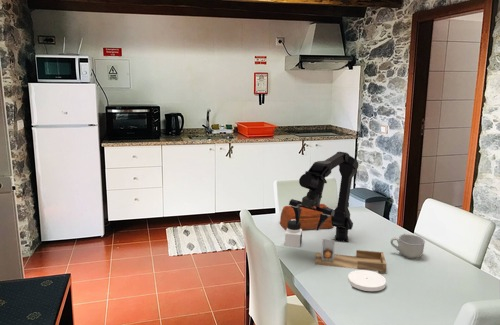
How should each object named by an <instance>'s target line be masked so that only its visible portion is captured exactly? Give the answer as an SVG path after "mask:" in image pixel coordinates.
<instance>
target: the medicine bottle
mask: <svg viewBox="0 0 500 325" xmlns="http://www.w3.org/2000/svg"><path fill="white" fill-rule="evenodd" d="M300 228H301V222H300V221H299V223H298V225H296V220H289V221H288V222H287V230H285V234H284V246H285V247H293V248H294V247H295V248H301V247H302V239H303V230H302V229H300Z"/></svg>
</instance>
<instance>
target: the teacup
mask: <svg viewBox="0 0 500 325" xmlns="http://www.w3.org/2000/svg"><path fill="white" fill-rule="evenodd" d="M394 241H397V244H398V246H397V245H396V244H395V243H394ZM390 244H391V246H392V247H393V248H395V249H396V251H397V252H399V254H401V255H402V256H403V257H404V258H407V259H417V258H419V257H421V256H422V255H423V253H424V249H425V244H426V240H425V239H424V238H423V237H422V236H419V235H415V234H412V233H411V234H410V233H404V234H400V235H399V237H396V236H394V237H392V238H391V239H390Z"/></svg>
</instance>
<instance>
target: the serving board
mask: <svg viewBox="0 0 500 325" xmlns="http://www.w3.org/2000/svg"><path fill="white" fill-rule="evenodd" d="M355 252H356V253H355V255H345V254H335V253H334V263H332V262H322V261H321V259H322V252H316V253H315V262H314V265H315V266H326V267H335V268H346V269H355V270H369V271H374V272H377V273H378V274H381V275H382V274H385V275H386V274H387V273H386V272H387V262H386V258H385V254H384V252H383V251H373V250H371V251H369V250H361V249H356V250H355Z"/></svg>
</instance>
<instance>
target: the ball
mask: <svg viewBox="0 0 500 325" xmlns="http://www.w3.org/2000/svg"><path fill="white" fill-rule="evenodd" d="M324 256H325V258H331V253H330V252H328V251H327V252H325V254H324Z"/></svg>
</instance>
